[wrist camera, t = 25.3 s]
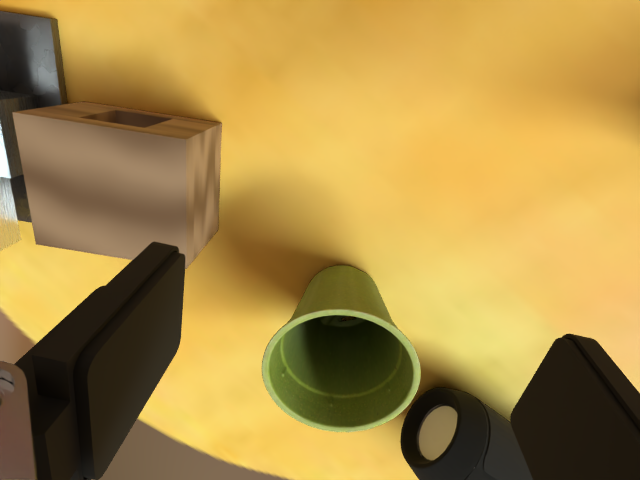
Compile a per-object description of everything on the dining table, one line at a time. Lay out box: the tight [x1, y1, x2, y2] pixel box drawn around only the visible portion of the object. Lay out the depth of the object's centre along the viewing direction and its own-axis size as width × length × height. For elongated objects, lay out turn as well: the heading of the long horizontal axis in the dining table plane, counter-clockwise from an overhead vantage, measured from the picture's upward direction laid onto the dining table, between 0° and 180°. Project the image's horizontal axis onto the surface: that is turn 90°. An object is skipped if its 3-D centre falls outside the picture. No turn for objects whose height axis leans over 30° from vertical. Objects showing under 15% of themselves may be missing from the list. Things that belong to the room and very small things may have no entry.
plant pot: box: [262, 265, 421, 432], centre depth 35 cm, size 12×12×11 cm
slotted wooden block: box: [12, 102, 222, 269], centre depth 32 cm, size 10×12×8 cm
